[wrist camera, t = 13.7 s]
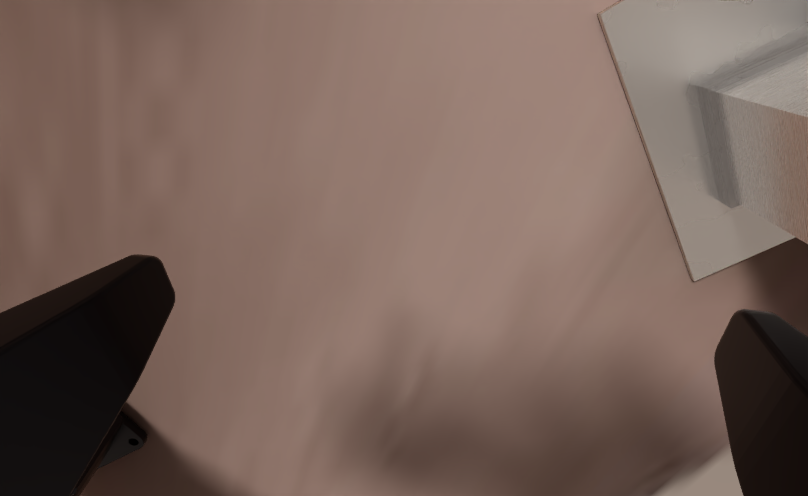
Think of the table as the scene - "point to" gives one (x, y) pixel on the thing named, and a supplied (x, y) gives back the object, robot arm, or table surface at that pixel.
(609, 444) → the table surface
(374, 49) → the table surface
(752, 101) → the duct elbow
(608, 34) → the duct flange
